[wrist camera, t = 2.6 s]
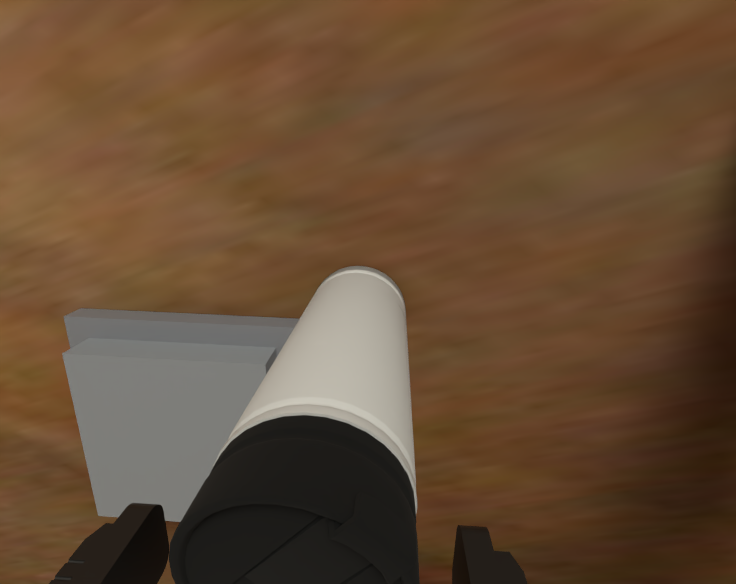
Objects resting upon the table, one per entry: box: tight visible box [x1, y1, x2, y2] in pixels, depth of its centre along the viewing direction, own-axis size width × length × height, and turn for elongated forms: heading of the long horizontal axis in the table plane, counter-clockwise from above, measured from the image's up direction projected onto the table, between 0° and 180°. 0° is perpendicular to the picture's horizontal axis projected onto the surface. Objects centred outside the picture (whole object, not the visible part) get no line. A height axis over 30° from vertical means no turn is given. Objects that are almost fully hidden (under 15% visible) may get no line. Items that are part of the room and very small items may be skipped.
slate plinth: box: [62, 308, 299, 522], centre depth 30 cm, size 16×16×4 cm
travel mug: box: [169, 266, 419, 584], centre depth 19 cm, size 6×7×20 cm
